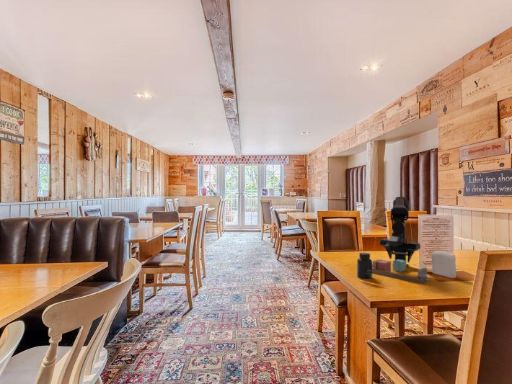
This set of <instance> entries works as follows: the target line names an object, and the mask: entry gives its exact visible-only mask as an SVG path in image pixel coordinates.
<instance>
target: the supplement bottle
mask: <svg viewBox="0 0 512 384" xmlns="http://www.w3.org/2000/svg"><path fill="white" fill-rule="evenodd" d="M356 263H357V264H356V276H357V278H358V279H363V280H369V279H371V280H372V279H373V273H372V268H373V267H372V264H373V260H372V259H371V253H369V252H360V253H359V258H358V259H357V260H356Z"/></svg>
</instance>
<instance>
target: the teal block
mask: <svg viewBox="0 0 512 384" xmlns="http://www.w3.org/2000/svg"><path fill="white" fill-rule="evenodd" d="M406 264H407V260H406V261H404V260H399V259H398V260H395V259H394V260H392V271H395V272H400V273H401V272H404V271H407V266H406Z"/></svg>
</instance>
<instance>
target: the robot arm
mask: <svg viewBox="0 0 512 384" xmlns="http://www.w3.org/2000/svg"><path fill="white" fill-rule="evenodd" d="M409 209H410V202H409V200H408V199H406V197H405V196H397V197H395V199H393V201H392V208H391V209H390V221H393V222H392V225H391V230H392V232H391V236H390V237H389V238H382V239H380V240H379V245H380V246H382V247H383V248H385V250H386V252H387V255H388V257H389V259H390V260H392V258H393V255H394V261H395V260H398V259H399V260H404V261H406V262H407V263H406V267H408V266H409V264H408V263H410V261H411V260H412V257H413V255H414V254H415V252H416V251H417V250H421V244H420V243H419V242H414V241H411V242H408V240H407V238H406V235H407V232H406V222H407V221H408V220H409V216H410V214H409Z"/></svg>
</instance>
